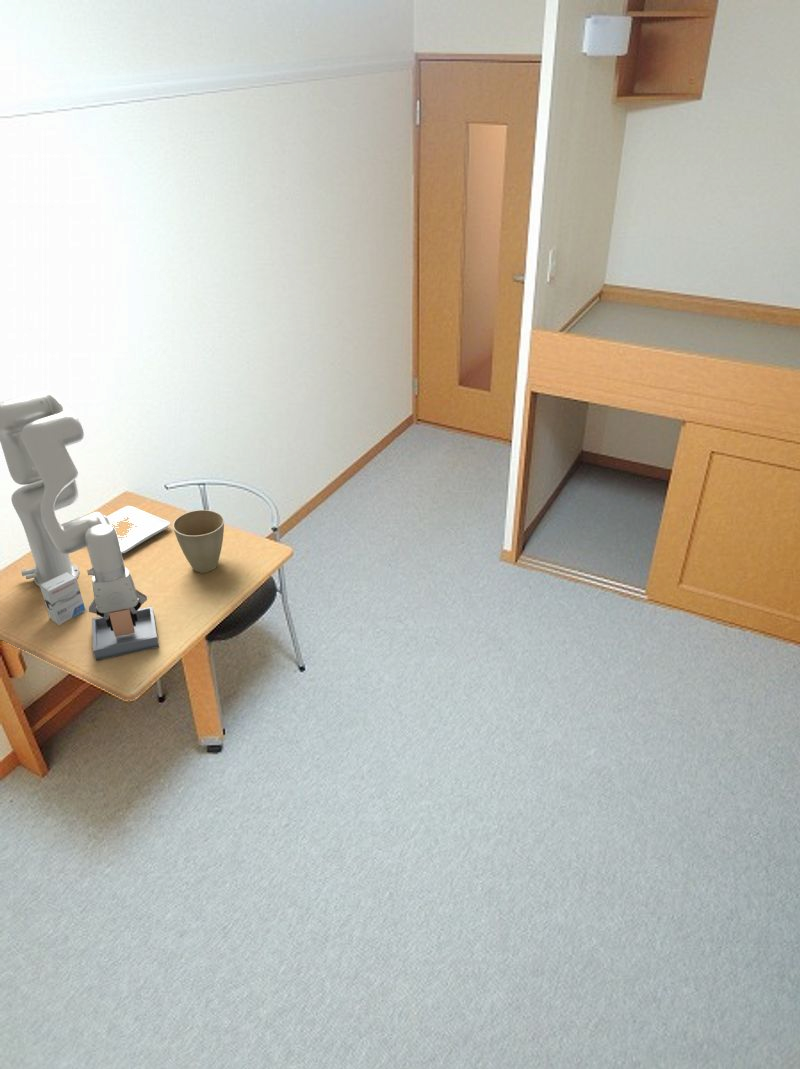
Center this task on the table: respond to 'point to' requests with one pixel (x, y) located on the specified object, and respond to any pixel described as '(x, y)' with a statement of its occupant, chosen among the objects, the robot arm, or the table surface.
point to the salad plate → (145, 526)
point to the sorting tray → (125, 636)
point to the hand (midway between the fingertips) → (123, 624)
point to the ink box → (62, 597)
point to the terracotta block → (121, 622)
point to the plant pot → (200, 538)
